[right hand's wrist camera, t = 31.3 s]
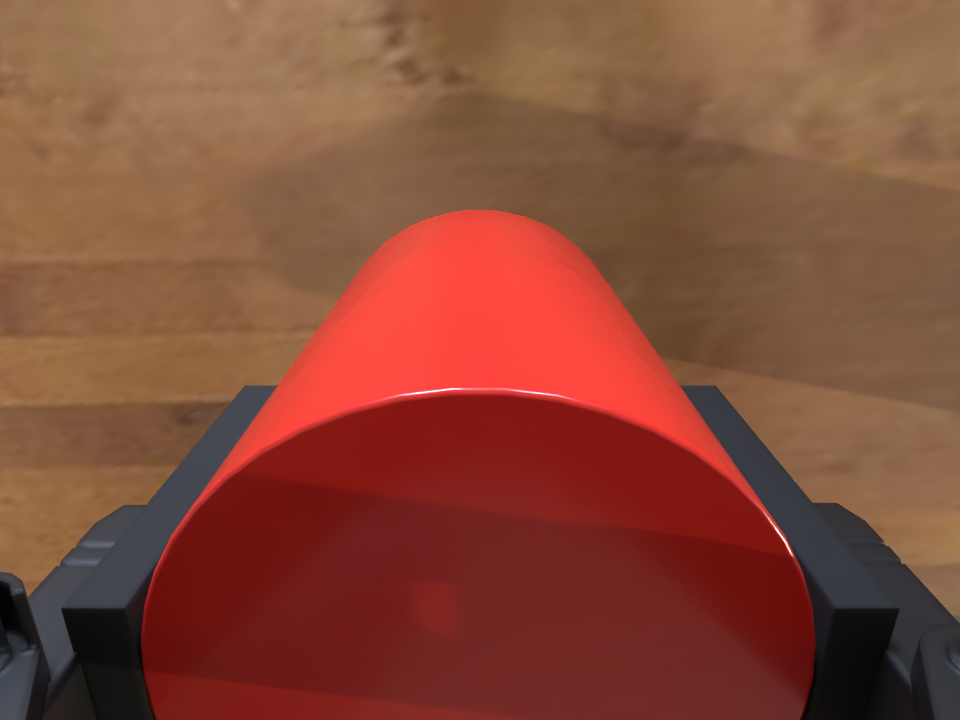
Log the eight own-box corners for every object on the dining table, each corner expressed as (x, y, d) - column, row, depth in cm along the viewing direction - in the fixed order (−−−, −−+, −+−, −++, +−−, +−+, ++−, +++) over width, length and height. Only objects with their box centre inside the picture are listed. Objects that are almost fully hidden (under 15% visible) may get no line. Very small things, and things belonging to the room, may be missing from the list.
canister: (420, 514, 21) (355, 961, 10) (282, 290, 19) (-12, 569, 8) (663, 412, 20) (891, 799, 9) (552, 154, 17) (682, 250, 6)
